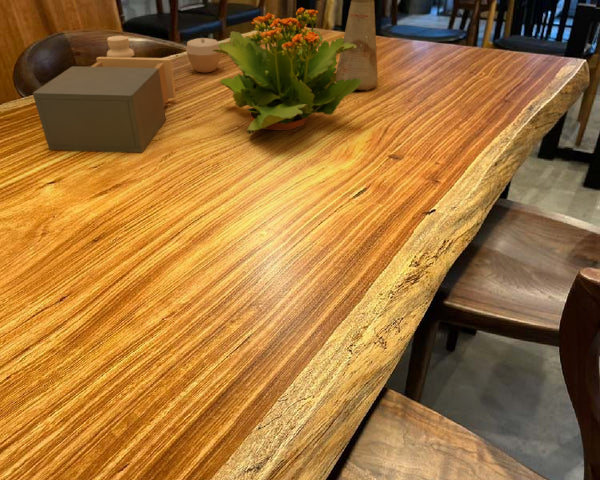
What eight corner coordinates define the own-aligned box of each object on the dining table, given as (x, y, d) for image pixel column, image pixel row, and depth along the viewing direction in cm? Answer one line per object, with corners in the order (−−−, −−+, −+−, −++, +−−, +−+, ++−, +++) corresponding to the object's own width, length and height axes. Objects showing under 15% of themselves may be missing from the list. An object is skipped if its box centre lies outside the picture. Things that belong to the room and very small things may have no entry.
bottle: (329, 90, 108) (336, -80, 91) (341, 78, 115) (349, -82, 97) (371, 95, 106) (386, -79, 89) (380, 82, 112) (396, -81, 95)
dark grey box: (84, 117, 94) (71, 66, 89) (166, 120, 94) (158, 68, 88) (49, 150, 83) (32, 92, 77) (142, 152, 82) (131, 95, 77)
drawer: (113, 88, 105) (106, 50, 101) (181, 89, 105) (176, 52, 100) (79, 119, 91) (69, 77, 87) (156, 121, 90) (150, 79, 86)
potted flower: (181, 117, 94) (167, 6, 84) (279, 90, 108) (277, -10, 97) (279, 159, 81) (277, 31, 70) (377, 121, 94) (387, 9, 83)
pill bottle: (132, 79, 113) (124, 33, 107) (144, 85, 109) (136, 38, 104) (108, 84, 110) (99, 37, 104) (119, 90, 107) (110, 42, 101)
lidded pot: (217, 76, 115) (214, 43, 111) (182, 74, 116) (178, 41, 112) (227, 66, 121) (225, 35, 117) (194, 65, 122) (190, 33, 118)
